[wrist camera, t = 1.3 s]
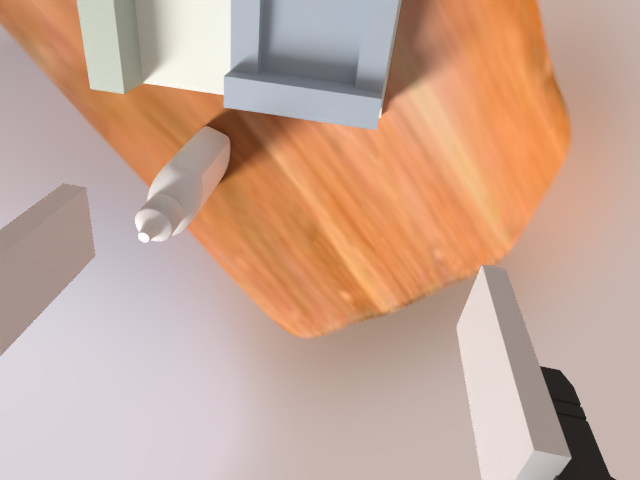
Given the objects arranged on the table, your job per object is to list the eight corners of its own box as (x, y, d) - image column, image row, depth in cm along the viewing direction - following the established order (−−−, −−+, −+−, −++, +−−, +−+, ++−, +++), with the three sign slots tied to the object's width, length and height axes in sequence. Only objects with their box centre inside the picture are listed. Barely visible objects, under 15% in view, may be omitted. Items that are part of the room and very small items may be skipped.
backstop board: (87, -146, 28) (52, -155, 26) (420, -103, 28) (424, -108, 25) (115, 76, 36) (90, 89, 33) (380, 115, 35) (379, 131, 32)
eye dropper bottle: (251, 162, 38) (202, 243, 28) (201, 195, 40) (139, 281, 30) (215, 117, 36) (149, 186, 26) (165, 154, 39) (86, 231, 29)
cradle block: (243, -116, 28) (223, -123, 24) (414, -94, 27) (417, -98, 24) (239, 90, 34) (223, 107, 31) (377, 110, 34) (376, 130, 31)
